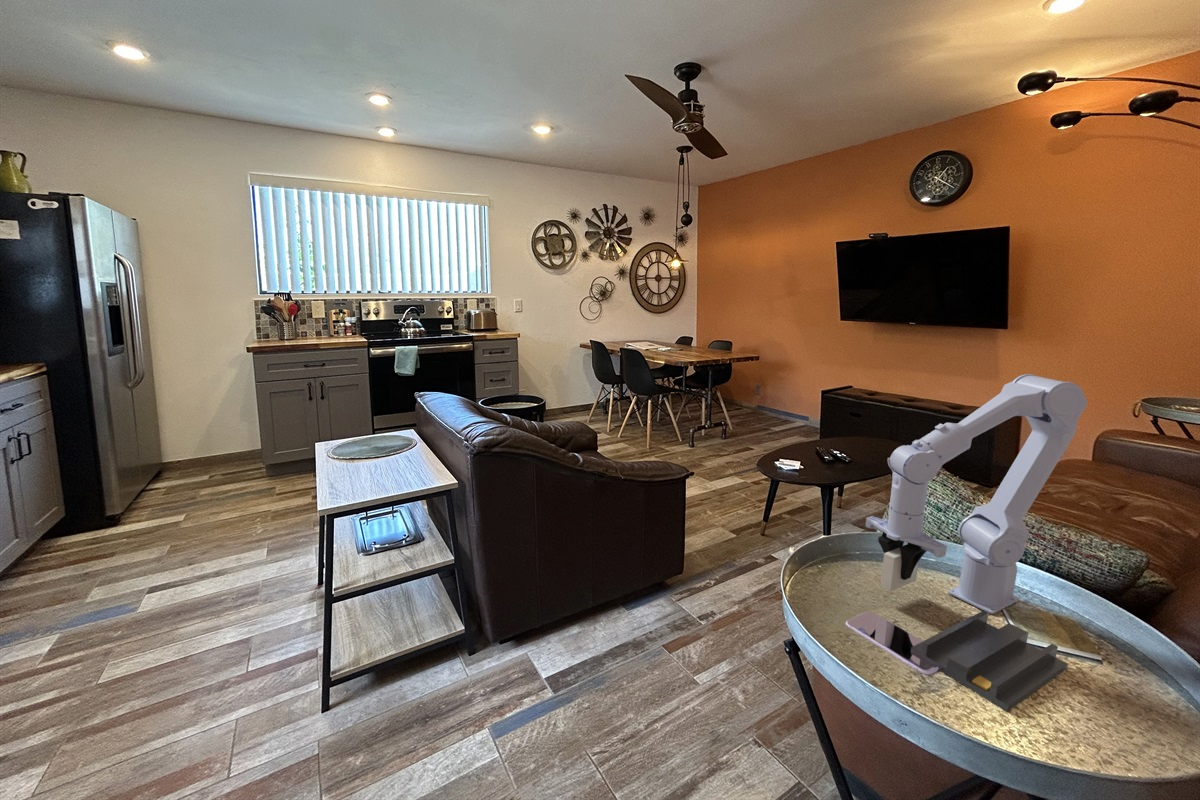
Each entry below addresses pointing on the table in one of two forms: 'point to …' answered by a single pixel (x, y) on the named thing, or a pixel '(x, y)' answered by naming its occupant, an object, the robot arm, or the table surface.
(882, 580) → the panel
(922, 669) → the mobile phone
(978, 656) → the charcoal rack
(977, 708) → the table surface
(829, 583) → the table surface
